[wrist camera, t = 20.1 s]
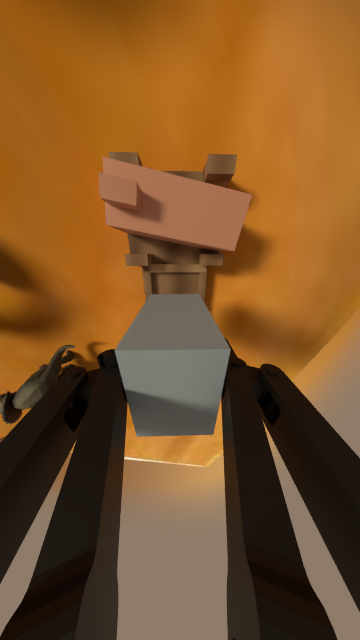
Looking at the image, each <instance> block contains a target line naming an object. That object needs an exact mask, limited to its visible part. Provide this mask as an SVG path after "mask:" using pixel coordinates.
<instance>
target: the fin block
mask: <svg viewBox="0 0 360 640" xmlns="http://www.w3.org/2000/svg"><path fill="white" fill-rule="evenodd" d="M230 350H231V349H230V347H229V345H228V343H227V342H226V340H225V338H224V336H223V335H222V333H221V331H220V329H219V328H218V326H217V324H216V322H215V321H214V319H213V317H212V315H211V314H210V312H209V310H208V308H207V307H206V305H205V303H204V301H203V300H202V298H201V296H200V294H151V295H150V296H149V298H148V299H147V301H146V302H145V304H144V306H143V307H142V309H141V310H140V312H139V313H138V315H137V316H136V318H135V320H134V321H133V323H132V324H131V326H130V327H129V329H128V330H127V332H126V334H125V335H124V337H123V338H122V340H121V341H120V343H119V344H118V346H117V348H116V349H115V354H116V358H117V362H118V366H119V370H120V373H121V377H122V381H123V385H124V389H125V393H126V397H127V400H128V404H129V408H130V412H131V416H132V420H133V423H134V427H135V431H136V435H137V437H142V436H180V435H213V433H214V428H215V423H216V418H217V414H218V409H219V404H220V399H221V394H222V389H223V384H224V379H225V375H226V370H227V365H228V360H229V355H230Z"/></svg>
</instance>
